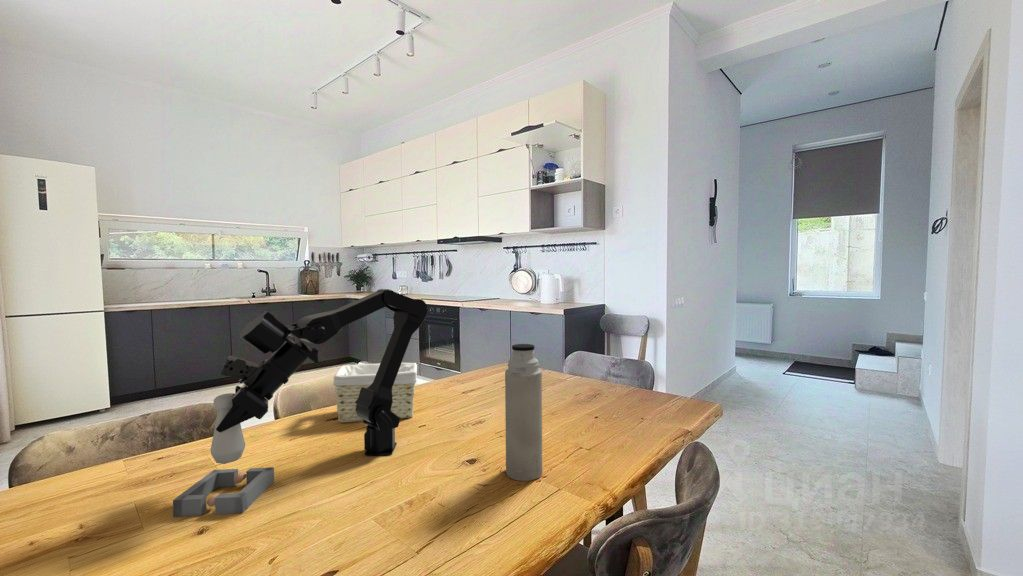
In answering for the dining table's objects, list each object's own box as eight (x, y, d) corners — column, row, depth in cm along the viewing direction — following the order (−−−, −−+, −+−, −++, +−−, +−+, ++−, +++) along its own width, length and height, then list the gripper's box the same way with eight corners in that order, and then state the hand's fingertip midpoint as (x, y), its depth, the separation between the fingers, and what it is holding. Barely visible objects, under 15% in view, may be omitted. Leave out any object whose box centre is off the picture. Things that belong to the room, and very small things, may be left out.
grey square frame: (274, 481, 89) (273, 467, 89) (242, 513, 77) (242, 496, 77) (214, 483, 88) (214, 469, 88) (173, 516, 77) (172, 500, 76)
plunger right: (247, 478, 89) (247, 470, 89) (242, 483, 87) (241, 475, 87) (239, 478, 89) (239, 471, 89) (233, 483, 86) (233, 475, 86)
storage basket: (417, 403, 143) (416, 360, 143) (417, 419, 127) (417, 371, 127) (342, 409, 138) (341, 364, 137) (332, 426, 122) (331, 376, 122)
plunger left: (223, 499, 80) (223, 491, 80) (216, 506, 78) (215, 497, 78) (214, 500, 80) (214, 491, 80) (206, 506, 78) (206, 497, 78)
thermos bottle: (512, 462, 98) (511, 341, 97) (546, 466, 95) (545, 342, 94) (500, 477, 90) (499, 346, 89) (536, 483, 88) (535, 348, 87)
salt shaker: (227, 467, 81) (225, 400, 80) (203, 464, 82) (200, 398, 82) (252, 454, 87) (250, 391, 86) (229, 451, 88) (227, 390, 87)
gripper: (250, 335, 94) (190, 392, 89) (244, 348, 77) (170, 418, 72) (292, 366, 98) (236, 422, 93) (294, 384, 81) (227, 453, 76)
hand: (219, 428), depth 84 cm, fingers closed on salt shaker, 3 cm apart
